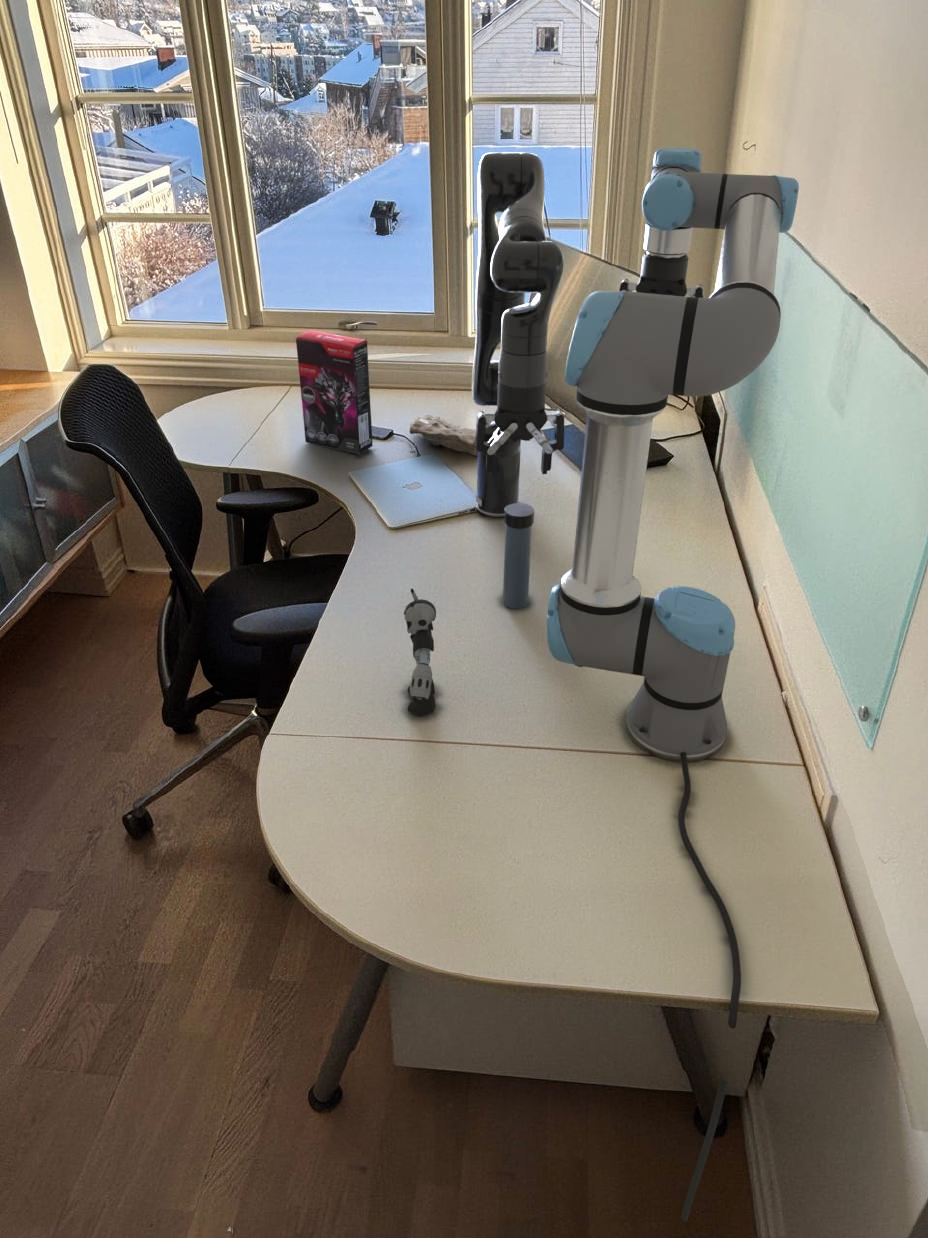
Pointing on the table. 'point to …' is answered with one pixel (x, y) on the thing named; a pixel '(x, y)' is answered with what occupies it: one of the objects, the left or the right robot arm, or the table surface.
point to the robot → (421, 655)
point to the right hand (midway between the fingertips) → (650, 378)
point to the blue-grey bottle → (516, 566)
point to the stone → (445, 434)
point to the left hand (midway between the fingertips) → (518, 473)
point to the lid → (519, 515)
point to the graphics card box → (335, 391)
